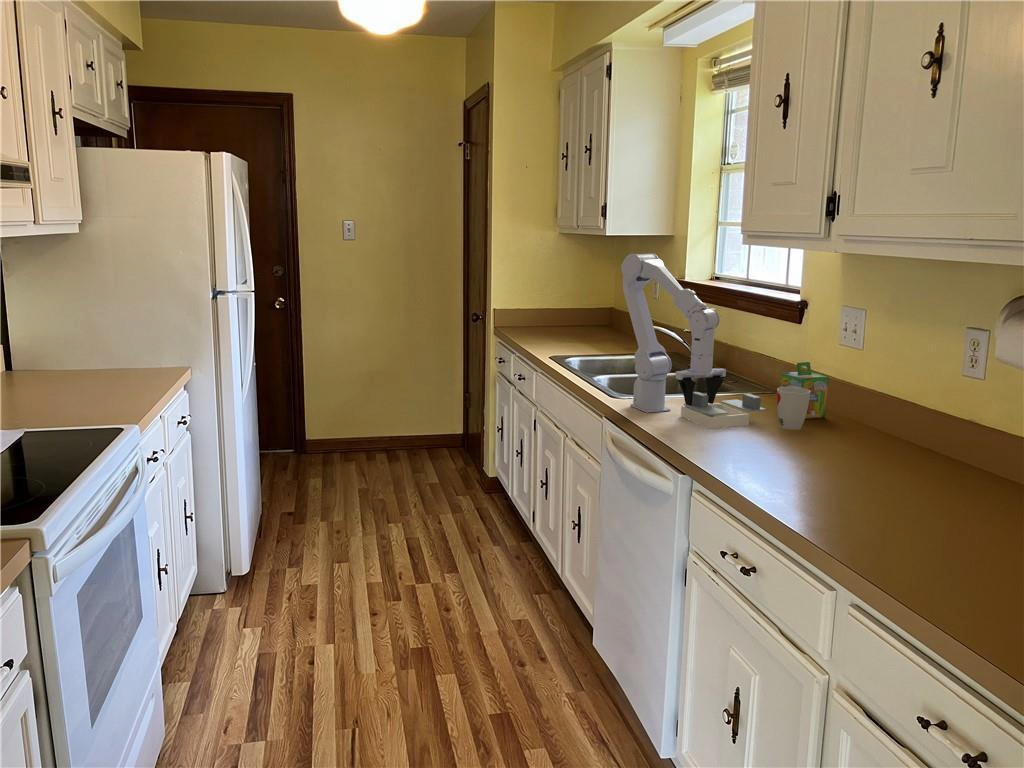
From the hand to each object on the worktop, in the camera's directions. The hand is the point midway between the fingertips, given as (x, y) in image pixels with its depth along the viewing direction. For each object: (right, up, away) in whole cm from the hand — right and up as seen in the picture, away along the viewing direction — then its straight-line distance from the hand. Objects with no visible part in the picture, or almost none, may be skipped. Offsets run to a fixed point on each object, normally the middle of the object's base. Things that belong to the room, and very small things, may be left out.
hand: (699, 404), depth 217 cm
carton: (+4, -5, -1) cm, 6 cm away
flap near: (+1, -1, -3) cm, 3 cm away
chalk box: (+30, -4, +6) cm, 31 cm away
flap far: (+12, -1, +2) cm, 12 cm away
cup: (+22, -6, -7) cm, 24 cm away
